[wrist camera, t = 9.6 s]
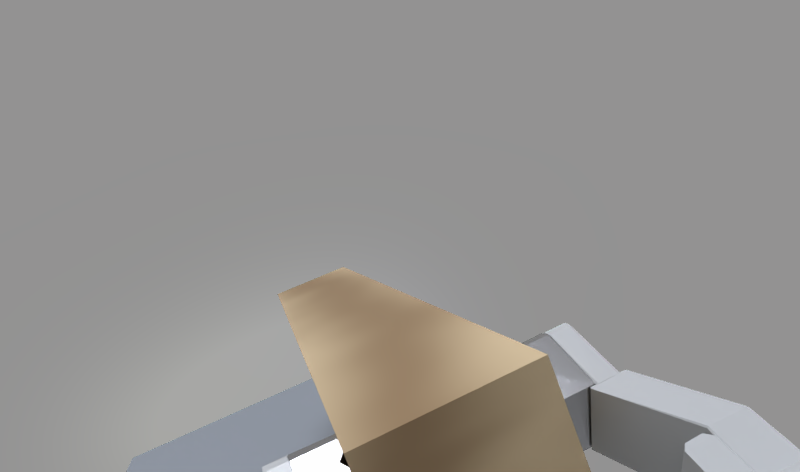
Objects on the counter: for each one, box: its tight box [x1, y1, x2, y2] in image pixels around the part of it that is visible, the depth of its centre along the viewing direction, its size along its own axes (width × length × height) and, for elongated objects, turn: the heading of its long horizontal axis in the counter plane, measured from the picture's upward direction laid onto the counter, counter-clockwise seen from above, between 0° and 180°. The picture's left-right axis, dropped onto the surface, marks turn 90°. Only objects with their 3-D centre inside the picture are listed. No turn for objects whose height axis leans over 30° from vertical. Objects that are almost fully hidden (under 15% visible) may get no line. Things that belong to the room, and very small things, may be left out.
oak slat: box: [278, 267, 591, 472], centre depth 20 cm, size 4×22×3 cm, turn 16°
